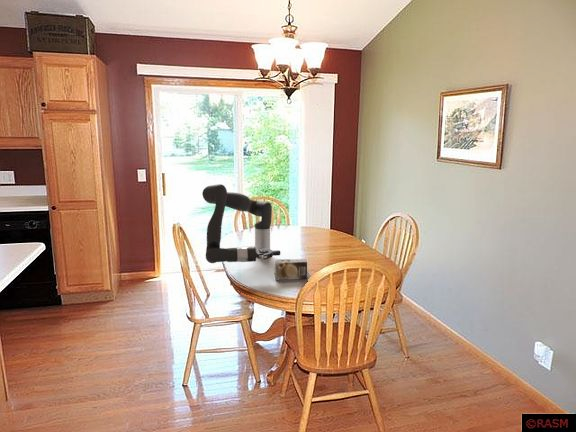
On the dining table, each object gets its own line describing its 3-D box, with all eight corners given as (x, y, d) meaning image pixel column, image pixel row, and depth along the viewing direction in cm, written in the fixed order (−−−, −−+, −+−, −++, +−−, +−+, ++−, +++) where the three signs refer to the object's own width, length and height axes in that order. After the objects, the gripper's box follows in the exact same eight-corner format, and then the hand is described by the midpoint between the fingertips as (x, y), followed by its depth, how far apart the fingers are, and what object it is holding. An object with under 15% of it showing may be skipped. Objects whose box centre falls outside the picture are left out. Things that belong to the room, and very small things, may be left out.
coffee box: (275, 262, 207) (307, 261, 208) (275, 259, 213) (305, 258, 214) (275, 280, 208) (307, 279, 210) (275, 276, 214) (305, 275, 216)
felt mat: (274, 273, 219) (274, 272, 219) (307, 271, 222) (307, 271, 222) (279, 282, 205) (279, 282, 205) (313, 280, 209) (314, 280, 209)
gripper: (247, 250, 199) (282, 249, 203) (244, 243, 212) (277, 242, 215) (247, 265, 201) (282, 263, 204) (244, 257, 213) (277, 256, 217)
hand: (280, 252), depth 210 cm, fingers closed
